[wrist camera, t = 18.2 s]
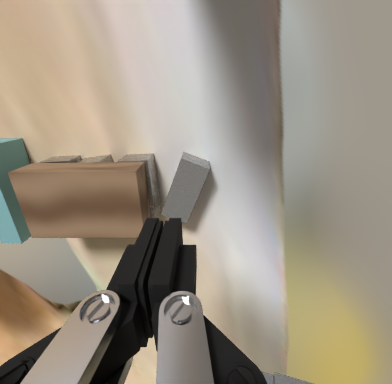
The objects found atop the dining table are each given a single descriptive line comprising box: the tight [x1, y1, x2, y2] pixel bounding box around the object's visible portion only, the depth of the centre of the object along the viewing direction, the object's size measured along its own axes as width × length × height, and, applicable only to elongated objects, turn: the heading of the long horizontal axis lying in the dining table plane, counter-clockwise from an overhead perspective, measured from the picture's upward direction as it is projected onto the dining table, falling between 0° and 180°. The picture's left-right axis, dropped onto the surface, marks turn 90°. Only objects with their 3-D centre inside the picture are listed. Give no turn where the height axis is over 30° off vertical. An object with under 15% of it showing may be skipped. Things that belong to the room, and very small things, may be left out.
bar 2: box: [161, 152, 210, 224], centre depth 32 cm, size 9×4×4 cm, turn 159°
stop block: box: [0, 138, 31, 244], centre depth 31 cm, size 14×3×6 cm, turn 0°
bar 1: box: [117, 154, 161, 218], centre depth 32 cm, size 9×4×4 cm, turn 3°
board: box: [8, 162, 151, 238], centre depth 29 cm, size 9×15×4 cm, turn 91°
